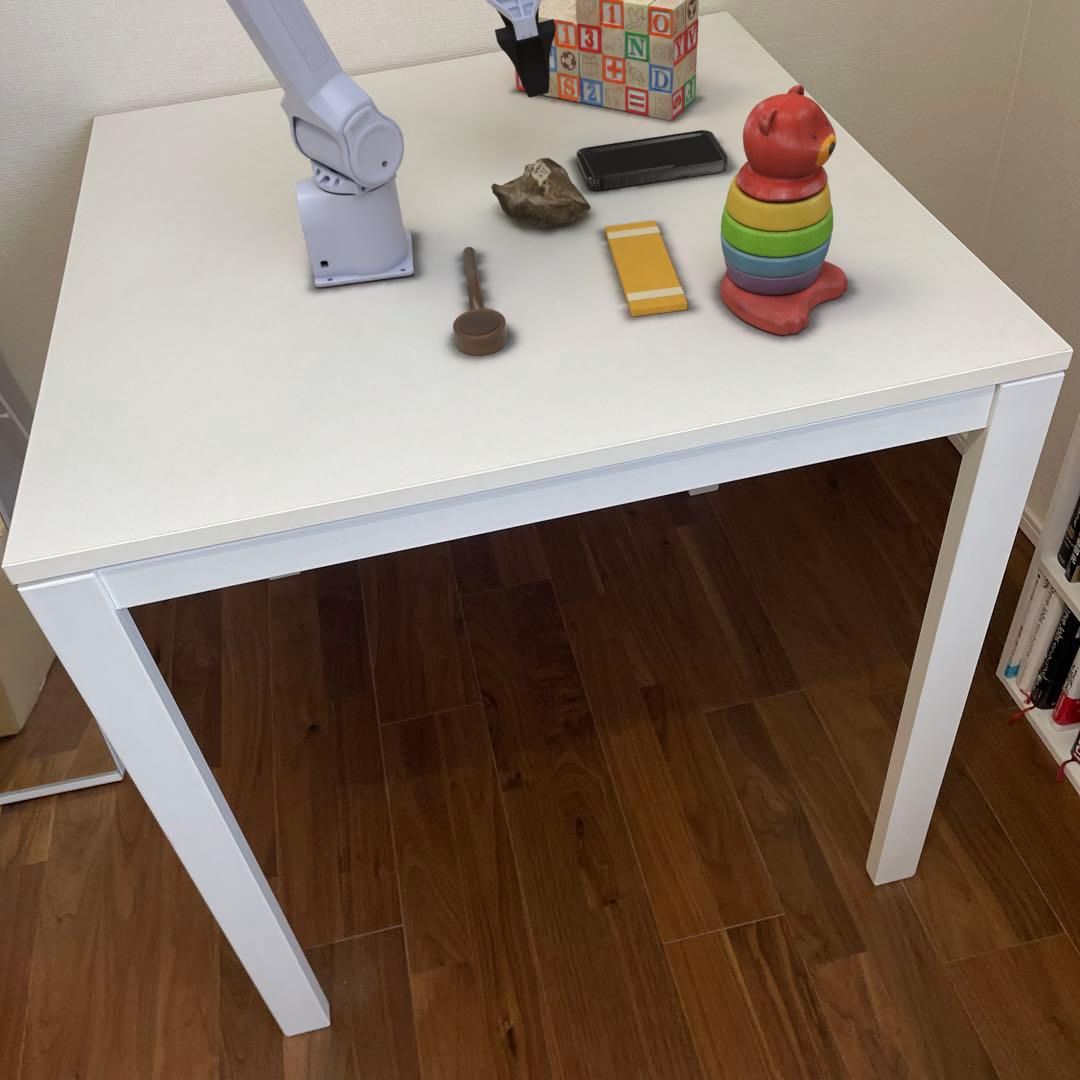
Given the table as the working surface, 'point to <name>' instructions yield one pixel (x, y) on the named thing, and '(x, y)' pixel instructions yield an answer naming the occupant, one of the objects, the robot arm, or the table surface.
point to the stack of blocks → (624, 54)
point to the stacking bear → (781, 217)
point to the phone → (651, 160)
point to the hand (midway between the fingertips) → (533, 74)
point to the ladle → (478, 317)
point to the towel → (645, 269)
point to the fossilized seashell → (542, 195)
